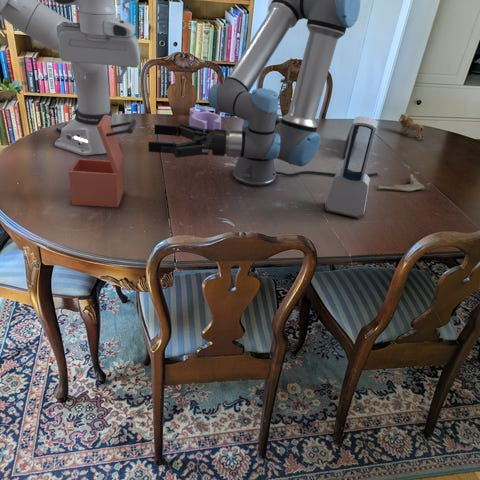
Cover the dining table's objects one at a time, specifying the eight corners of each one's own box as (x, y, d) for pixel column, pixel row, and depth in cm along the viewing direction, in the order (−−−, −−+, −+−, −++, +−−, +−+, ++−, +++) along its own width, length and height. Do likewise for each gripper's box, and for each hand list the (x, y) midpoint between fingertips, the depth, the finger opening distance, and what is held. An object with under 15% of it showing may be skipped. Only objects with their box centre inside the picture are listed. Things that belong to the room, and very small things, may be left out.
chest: (72, 204, 138) (68, 171, 133) (80, 190, 146) (77, 158, 140) (117, 207, 139) (116, 174, 134) (123, 192, 147) (121, 161, 142)
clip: (182, 123, 206) (183, 107, 202) (209, 122, 210) (210, 106, 207) (197, 140, 191) (197, 123, 187) (225, 138, 195) (226, 122, 191)
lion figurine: (393, 132, 222) (398, 113, 217) (398, 130, 225) (403, 111, 221) (423, 141, 214) (429, 122, 210) (427, 139, 218) (433, 120, 213)
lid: (96, 126, 126) (128, 120, 125) (104, 115, 134) (133, 109, 133) (113, 173, 133) (143, 167, 133) (119, 159, 141) (147, 154, 141)
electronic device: (364, 210, 152) (388, 120, 136) (361, 221, 146) (387, 128, 130) (327, 201, 155) (346, 112, 139) (322, 211, 149) (342, 119, 133)
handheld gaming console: (349, 160, 187) (354, 136, 182) (342, 158, 188) (347, 134, 183) (355, 142, 206) (361, 119, 201) (349, 140, 207) (354, 118, 201)
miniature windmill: (286, 130, 210) (297, 60, 194) (268, 127, 211) (277, 58, 195) (288, 124, 218) (299, 56, 202) (271, 121, 219) (279, 54, 203)
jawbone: (429, 189, 172) (431, 184, 171) (394, 201, 161) (396, 196, 160) (410, 177, 177) (412, 172, 176) (375, 189, 167) (376, 184, 165)
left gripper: (51, 22, 113) (58, 81, 120) (137, 30, 115) (138, 87, 122) (59, 18, 118) (65, 75, 126) (140, 26, 120) (142, 81, 127)
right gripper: (225, 173, 126) (146, 167, 124) (224, 139, 147) (156, 134, 145) (227, 147, 122) (145, 141, 120) (226, 116, 143) (156, 110, 141)
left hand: (102, 81), depth 124 cm, fingers open, 8 cm apart
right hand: (151, 137), depth 133 cm, fingers open, 13 cm apart
